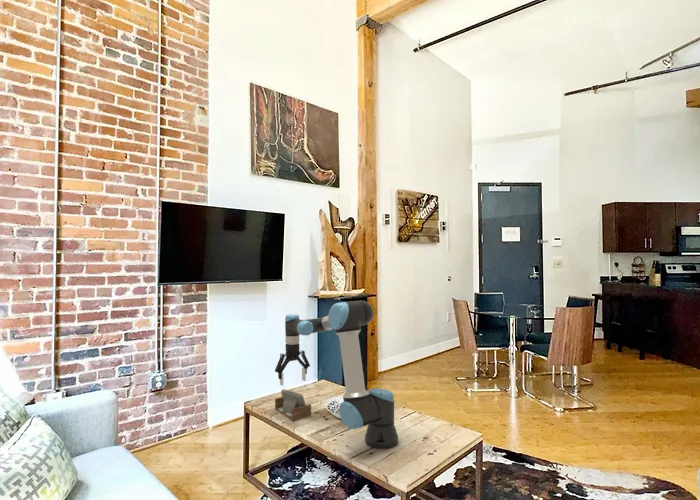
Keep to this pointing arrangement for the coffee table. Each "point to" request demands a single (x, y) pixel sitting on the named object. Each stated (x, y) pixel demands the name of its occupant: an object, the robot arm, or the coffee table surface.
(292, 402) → the digital clock
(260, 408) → the coffee table surface
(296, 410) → the cradle
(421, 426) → the coffee table surface
